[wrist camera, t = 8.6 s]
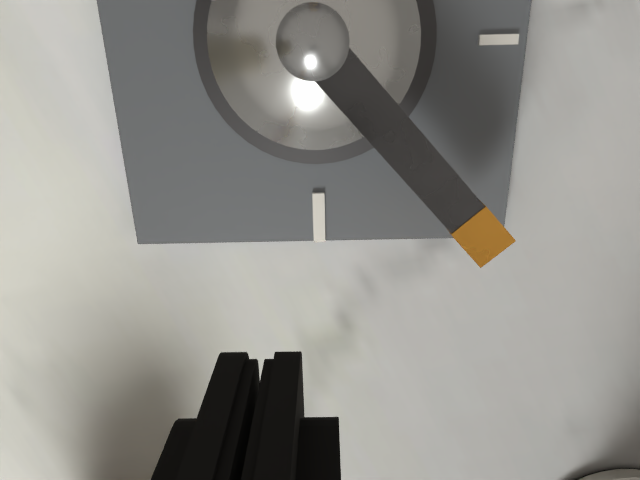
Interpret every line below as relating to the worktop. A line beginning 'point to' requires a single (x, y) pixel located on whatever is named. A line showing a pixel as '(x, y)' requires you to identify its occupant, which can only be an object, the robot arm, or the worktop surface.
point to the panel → (299, 164)
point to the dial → (342, 93)
